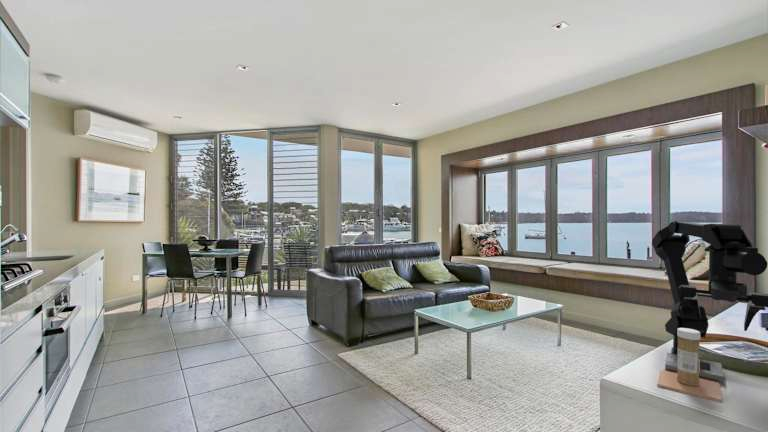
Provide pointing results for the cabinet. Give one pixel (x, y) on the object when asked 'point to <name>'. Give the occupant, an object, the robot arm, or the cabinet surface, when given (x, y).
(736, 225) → the robot arm
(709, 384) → the terracotta tile
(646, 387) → the cabinet surface
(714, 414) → the cabinet surface
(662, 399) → the cabinet surface
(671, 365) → the collar stand
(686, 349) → the sprinkles bottle
